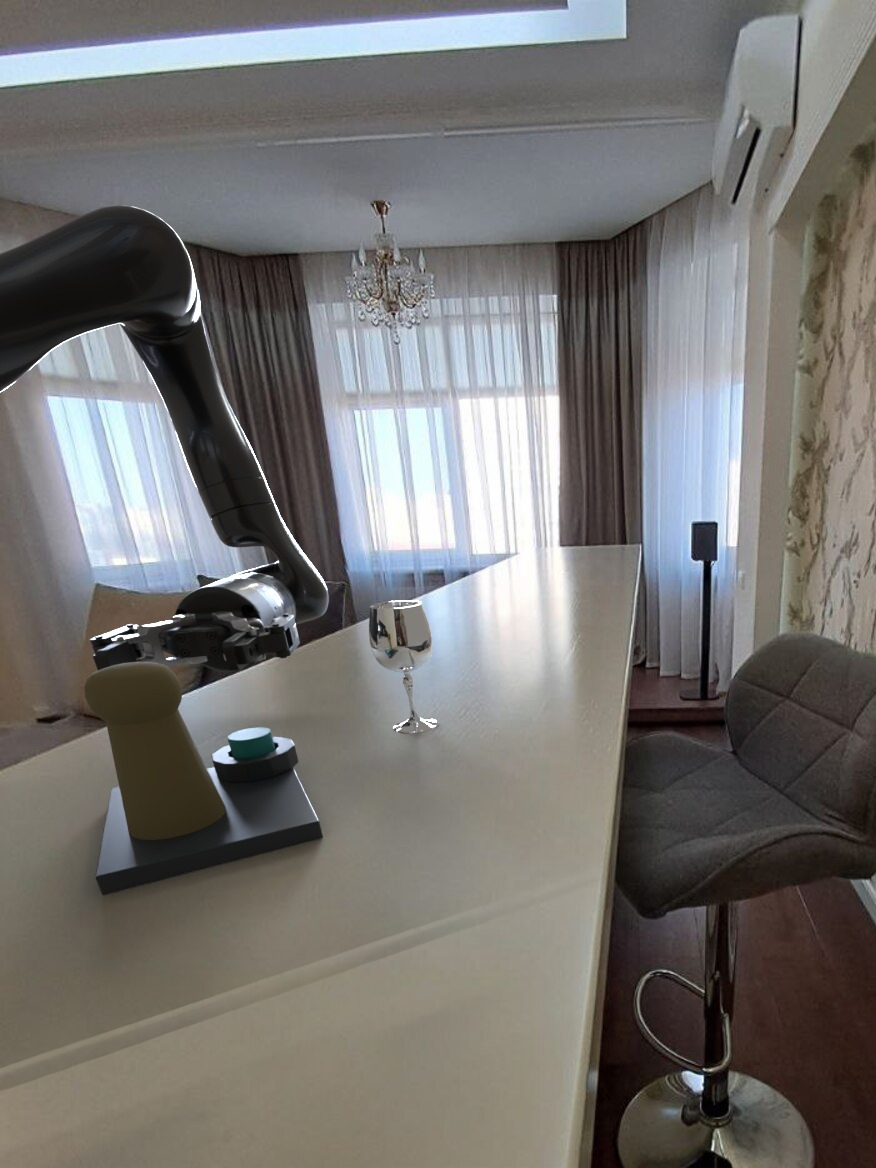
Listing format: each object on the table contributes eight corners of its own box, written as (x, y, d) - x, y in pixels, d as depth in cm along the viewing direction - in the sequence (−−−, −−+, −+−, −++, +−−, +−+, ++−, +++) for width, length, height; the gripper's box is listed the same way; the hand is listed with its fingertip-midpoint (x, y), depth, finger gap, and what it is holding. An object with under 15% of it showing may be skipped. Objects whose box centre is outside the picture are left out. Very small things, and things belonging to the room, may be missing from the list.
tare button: (278, 755, 55) (272, 735, 54) (234, 764, 54) (228, 743, 53) (273, 744, 58) (267, 724, 57) (231, 752, 56) (225, 732, 56)
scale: (331, 836, 48) (322, 797, 46) (102, 896, 42) (84, 854, 40) (295, 763, 61) (287, 731, 59) (117, 801, 55) (104, 766, 53)
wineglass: (423, 738, 65) (403, 610, 60) (374, 733, 67) (350, 609, 62) (455, 719, 70) (438, 600, 65) (408, 715, 72) (388, 599, 67)
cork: (174, 844, 44) (116, 680, 40) (107, 834, 46) (44, 675, 42) (245, 805, 50) (200, 655, 45) (182, 797, 51) (133, 652, 47)
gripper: (141, 585, 61) (40, 616, 47) (305, 575, 63) (258, 602, 49) (167, 667, 65) (80, 720, 50) (323, 655, 67) (283, 703, 52)
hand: (168, 662), depth 50 cm, fingers open, 8 cm apart
